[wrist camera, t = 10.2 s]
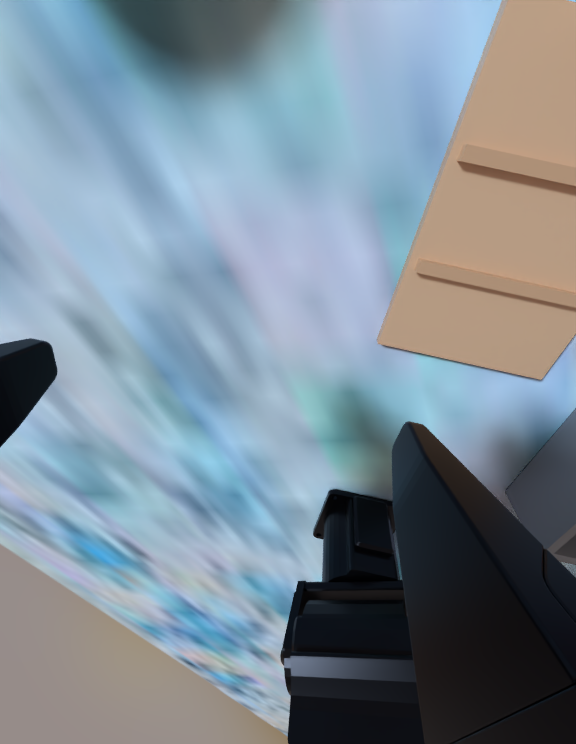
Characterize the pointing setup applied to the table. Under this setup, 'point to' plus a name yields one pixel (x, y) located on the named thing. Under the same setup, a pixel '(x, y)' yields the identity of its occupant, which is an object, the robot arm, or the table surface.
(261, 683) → the table surface
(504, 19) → the lid
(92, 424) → the table surface
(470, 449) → the table surface
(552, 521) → the tub
